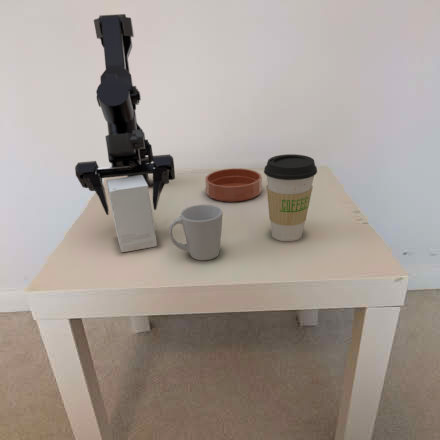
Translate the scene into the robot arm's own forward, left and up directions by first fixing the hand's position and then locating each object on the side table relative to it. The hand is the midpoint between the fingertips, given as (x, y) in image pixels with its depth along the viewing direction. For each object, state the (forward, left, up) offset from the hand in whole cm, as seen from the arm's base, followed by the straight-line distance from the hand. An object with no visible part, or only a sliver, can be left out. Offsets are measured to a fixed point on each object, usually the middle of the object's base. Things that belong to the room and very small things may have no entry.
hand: (131, 211), depth 77 cm
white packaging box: (-1, 0, -7) cm, 7 cm away
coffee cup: (+14, +27, -7) cm, 32 cm away
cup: (+11, +8, -7) cm, 16 cm away
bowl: (-13, +31, -7) cm, 35 cm away
